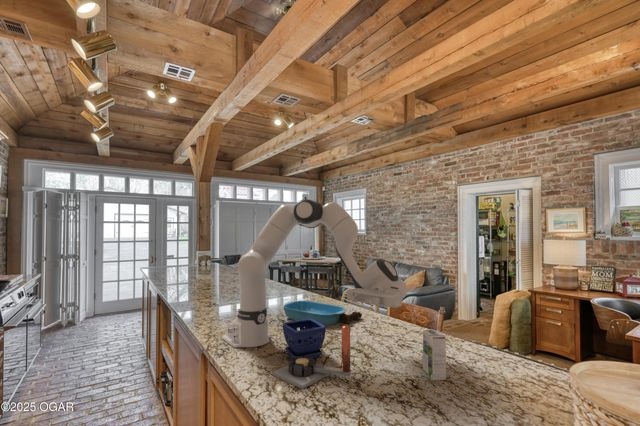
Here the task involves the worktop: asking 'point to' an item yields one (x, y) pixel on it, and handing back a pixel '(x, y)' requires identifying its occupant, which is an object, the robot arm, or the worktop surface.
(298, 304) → the casserole dish
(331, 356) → the worktop surface
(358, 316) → the brown pine cone
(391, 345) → the worktop surface
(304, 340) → the flower pot
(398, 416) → the worktop surface
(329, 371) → the nut with spanner
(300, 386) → the plate
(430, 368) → the syrup box
